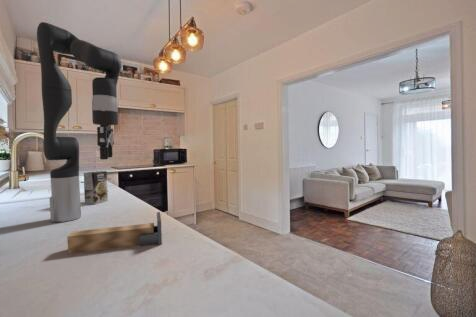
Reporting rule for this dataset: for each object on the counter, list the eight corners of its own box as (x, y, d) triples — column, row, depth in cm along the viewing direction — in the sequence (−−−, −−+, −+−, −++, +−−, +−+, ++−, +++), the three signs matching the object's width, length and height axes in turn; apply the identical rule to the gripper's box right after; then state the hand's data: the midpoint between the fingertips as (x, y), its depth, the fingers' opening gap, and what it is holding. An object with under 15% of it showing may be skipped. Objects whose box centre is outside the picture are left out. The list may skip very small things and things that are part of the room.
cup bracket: (139, 247, 66) (138, 223, 66) (141, 235, 75) (140, 214, 75) (161, 244, 68) (161, 221, 68) (160, 232, 77) (159, 212, 77)
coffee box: (95, 204, 117) (93, 172, 116) (84, 204, 118) (82, 172, 118) (108, 200, 126) (107, 170, 125) (98, 200, 127) (97, 170, 127)
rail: (68, 254, 63) (67, 236, 63) (73, 248, 67) (72, 231, 67) (153, 243, 70) (153, 227, 69) (154, 238, 74) (153, 222, 73)
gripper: (97, 112, 84) (98, 157, 85) (86, 107, 70) (88, 160, 72) (120, 113, 86) (121, 156, 88) (114, 108, 73) (115, 159, 74)
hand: (106, 158), depth 80 cm, fingers open, 8 cm apart
